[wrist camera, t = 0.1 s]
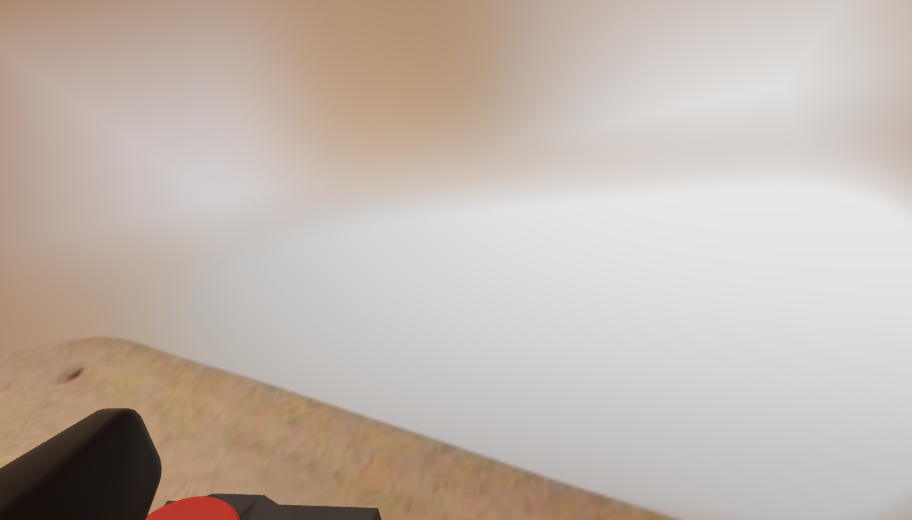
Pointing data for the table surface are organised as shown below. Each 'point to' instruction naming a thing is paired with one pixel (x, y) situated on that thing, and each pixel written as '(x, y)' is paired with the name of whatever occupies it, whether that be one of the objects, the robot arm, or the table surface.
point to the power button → (195, 510)
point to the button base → (290, 509)
